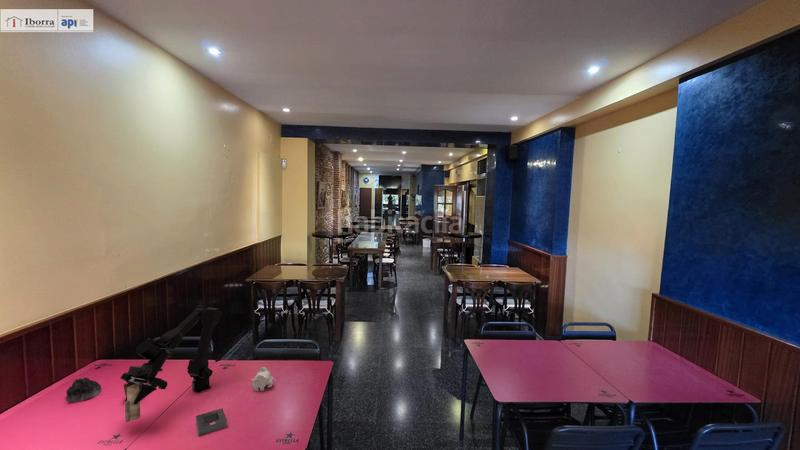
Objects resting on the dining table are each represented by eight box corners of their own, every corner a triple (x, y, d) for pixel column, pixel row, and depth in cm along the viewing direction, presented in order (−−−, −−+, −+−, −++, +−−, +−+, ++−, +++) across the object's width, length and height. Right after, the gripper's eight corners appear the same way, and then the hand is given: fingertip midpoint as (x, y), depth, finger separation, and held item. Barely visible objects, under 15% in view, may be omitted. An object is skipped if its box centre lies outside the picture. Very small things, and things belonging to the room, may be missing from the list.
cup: (133, 405, 157) (132, 387, 157) (119, 402, 159) (119, 385, 158) (148, 396, 165) (147, 379, 164) (135, 394, 166) (134, 377, 166)
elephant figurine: (273, 392, 170) (273, 374, 169) (247, 394, 168) (247, 376, 167) (277, 382, 179) (277, 365, 179) (252, 384, 177) (252, 367, 177)
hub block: (196, 422, 146) (195, 415, 145) (222, 414, 151) (222, 407, 151) (198, 436, 137) (198, 428, 137) (226, 427, 143) (226, 419, 143)
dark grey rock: (88, 387, 172) (84, 368, 171) (111, 388, 170) (107, 369, 169) (57, 405, 159) (53, 384, 158) (81, 406, 157) (77, 385, 156)
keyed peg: (135, 413, 142) (134, 383, 141) (142, 415, 141) (141, 385, 140) (122, 421, 137) (121, 390, 136) (130, 422, 136) (129, 391, 135)
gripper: (123, 353, 144) (95, 393, 134) (160, 359, 139) (133, 401, 129) (142, 363, 152) (117, 401, 142) (177, 369, 147) (154, 409, 137)
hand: (130, 403), depth 137 cm, fingers closed on keyed peg, 4 cm apart
